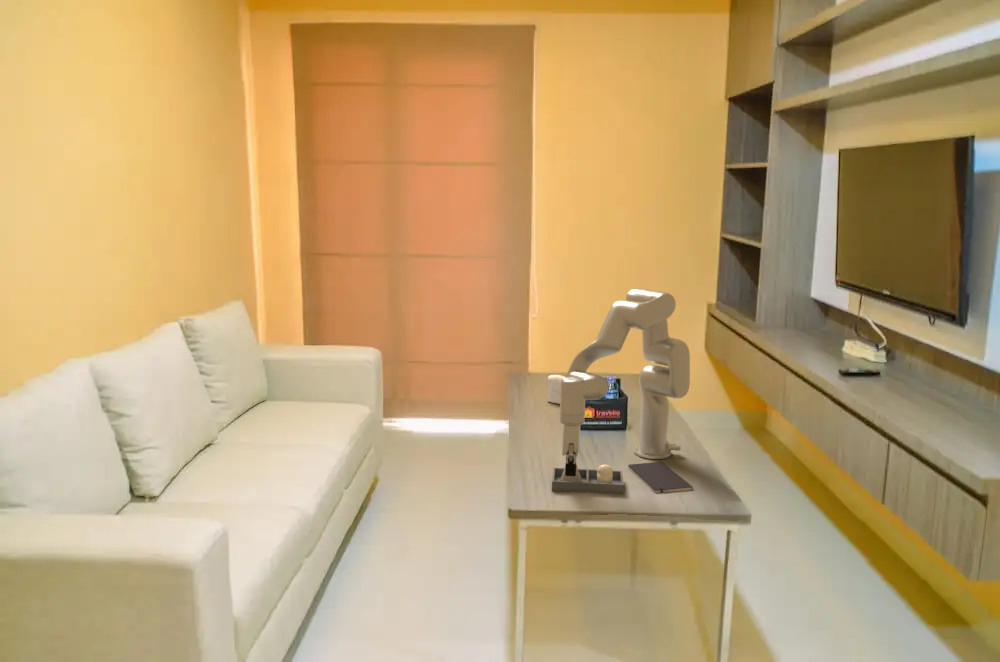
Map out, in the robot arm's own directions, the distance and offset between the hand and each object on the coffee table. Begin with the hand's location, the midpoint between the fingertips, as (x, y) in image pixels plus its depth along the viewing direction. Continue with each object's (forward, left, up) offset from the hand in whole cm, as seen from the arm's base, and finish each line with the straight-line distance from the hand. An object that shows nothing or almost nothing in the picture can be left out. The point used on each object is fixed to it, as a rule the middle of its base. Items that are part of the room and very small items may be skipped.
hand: (570, 469), depth 224 cm
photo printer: (+7, -88, -5) cm, 88 cm away
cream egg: (-11, 0, -4) cm, 11 cm away
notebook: (-28, -9, -6) cm, 30 cm away
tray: (-5, 0, -5) cm, 7 cm away
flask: (0, 0, -4) cm, 4 cm away
